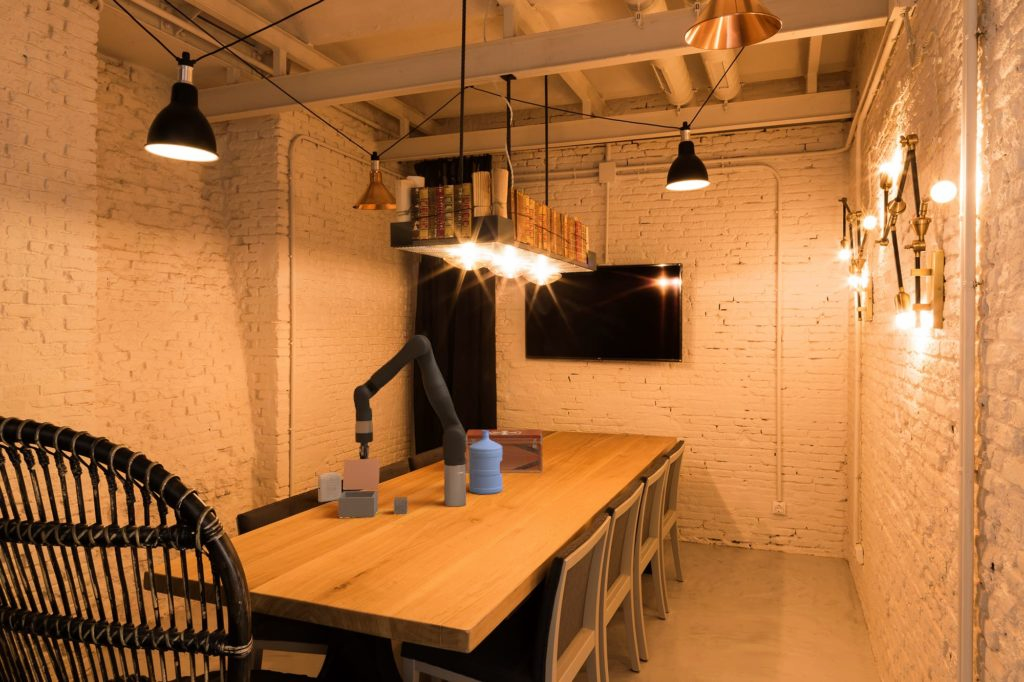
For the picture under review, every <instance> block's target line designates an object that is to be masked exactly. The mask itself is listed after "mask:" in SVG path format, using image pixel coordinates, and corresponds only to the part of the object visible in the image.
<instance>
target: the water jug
mask: <svg viewBox="0 0 1024 682" xmlns="http://www.w3.org/2000/svg"><path fill="white" fill-rule="evenodd" d="M481 430H482V440H480V441H478V442H476V443H474V444H472V445H470V446H469V473H468V477H469V478H468V479H469V481H468V482H469V483H468V484H469V485H468V490H469V492H470V493H472V494H474V495H475V494H476V495H494V494H499V493H501V492H502V491H503V489H504V485H503V475H502V474H503V473H500V462H501V461H502V454H503V453H502V446H501V445H500V444H498V443H496V442H494V441H492V440H490V439H489V430H490V429H481Z"/></svg>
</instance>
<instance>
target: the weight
mask: <svg viewBox="0 0 1024 682" xmlns="http://www.w3.org/2000/svg"><path fill="white" fill-rule="evenodd" d="M393 514H408V496H394V499H393Z"/></svg>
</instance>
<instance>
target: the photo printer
mask: <svg viewBox="0 0 1024 682" xmlns="http://www.w3.org/2000/svg"><path fill="white" fill-rule="evenodd" d="M317 482H318V483H317V501H318V503H324V502H332V501H338V498H339V497H340V495H341V494H342V473H340V472H335V471H329V472H324V473H322V474H319V475H318V478H317ZM319 488H320V489H319Z"/></svg>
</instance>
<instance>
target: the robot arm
mask: <svg viewBox="0 0 1024 682" xmlns="http://www.w3.org/2000/svg"><path fill="white" fill-rule="evenodd" d="M433 351H434V350H433V348H432V343H431V342H430V340H429V339H428V337H427V336H426V335H423V334H415V335H413V336H411V337H410V338H409V339H408V340H407V342H406V343H405V344H404V345H403V346H402V348H401V349H400V350H398V352H397V353H396V354H395V355H394V356H393V357H392V358H390V359H389V360H388V361H387V362H385V363H384V364H383V365H382V366H381V367H380V368H379V369H377V370H375V372H374V373H373V374H371V375H370V377H369V379H368V380H366V382H364V383H362V384H360V385H358V386H356V387H355V388H354V390H353V404H354V408H355V424H354V425H355V426H354V428H355V429H354V431H355V432H354V440H355V443H357V444H359V443H360V444H359V447H358V451H359V453H358V455H359V459H370V458H369V456H370V445H369V444H370V443H372V442H373V441H374V424H373V409H372V407H371V406H370V400H371V399H372V398H373V397H375V395H376V394H377V393H378V392H379V391H381V389H382V388H383V387H385V386H386V385H387V384H388V383H390V382H391V381H392V380H393V379H394V378H395V377H396V376H397V375H398V374H399V373H400V372H401V370H403V369H404V368H405V366H407V365H408V364H409V363H411V362H412V361H414V360H416V361H417V364H418V366H419V369H420V371H421V377H422V378H421V379H422V383H423V388H424V391H425V395H426V396H427V399H428V402H429V403H430V405H431V407H432V408H433V410H434V412H435V413H436V414H437V416H438V418H439V420H440V422H441V425H442V427H443V428H442V429H443V432H444V433H443V435H442V459H443V480H444V481H443V483H444V484H443V487H444V488H443V489H444V490H443V493H444V494H443V495H444V497H443V501H444V502H443V503H444V505H445V506H448V507H461V506H466V505H467V483H466V482H467V479H466V478H467V477H466V476H467V473H466V434H467V432H466V431H465V428H464V427H463V424H462V423H461V421H460V419H459V418H458V415H457V413H456V410H455V407H454V403H453V400H452V396H451V394H450V391H449V388H448V386H447V383H446V382H445V379H444V377H443V375H442V372H441V371H440V368H439V366H438V364H437V361H436V359H435V355H434V353H433Z"/></svg>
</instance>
